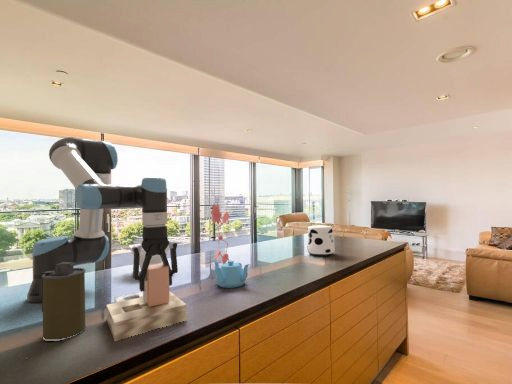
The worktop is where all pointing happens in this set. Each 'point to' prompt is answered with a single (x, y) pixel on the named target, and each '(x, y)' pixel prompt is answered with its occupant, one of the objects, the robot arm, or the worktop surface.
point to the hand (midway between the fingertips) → (156, 298)
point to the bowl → (154, 260)
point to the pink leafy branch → (215, 219)
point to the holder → (128, 297)
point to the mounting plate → (143, 316)
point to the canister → (63, 301)
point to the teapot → (230, 274)
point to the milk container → (320, 240)
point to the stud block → (157, 284)
